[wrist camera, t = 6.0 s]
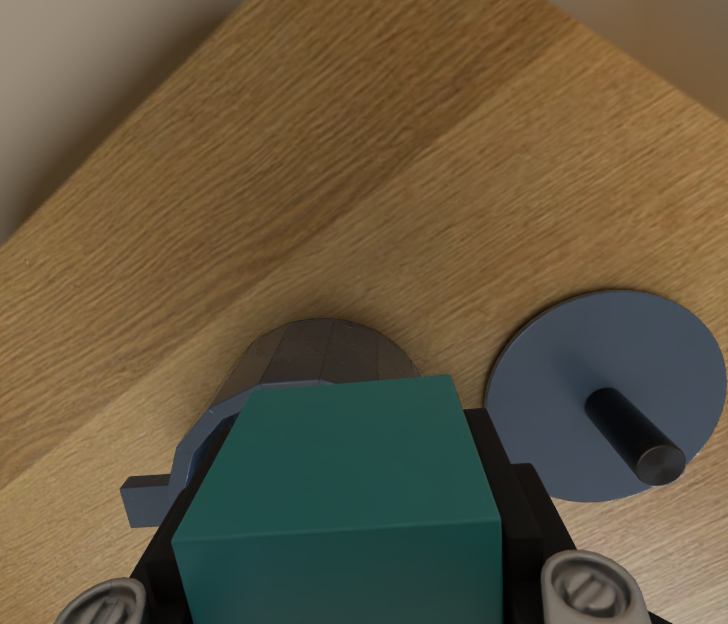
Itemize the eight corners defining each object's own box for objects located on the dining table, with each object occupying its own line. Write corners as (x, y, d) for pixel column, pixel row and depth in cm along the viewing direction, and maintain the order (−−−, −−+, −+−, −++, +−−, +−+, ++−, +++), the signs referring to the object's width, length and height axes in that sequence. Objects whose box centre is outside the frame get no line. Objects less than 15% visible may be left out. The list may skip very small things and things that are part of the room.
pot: (162, 330, 29) (79, 396, 21) (469, 305, 28) (508, 365, 20) (204, 508, 33) (148, 622, 25) (474, 492, 32) (507, 604, 24)
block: (251, 390, 11) (168, 540, 6) (451, 373, 11) (501, 519, 6) (281, 549, 12) (230, 761, 8) (459, 537, 12) (507, 750, 8)
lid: (479, 296, 28) (513, 341, 21) (729, 276, 27) (847, 315, 20) (483, 497, 32) (512, 587, 25) (699, 484, 31) (788, 573, 25)
